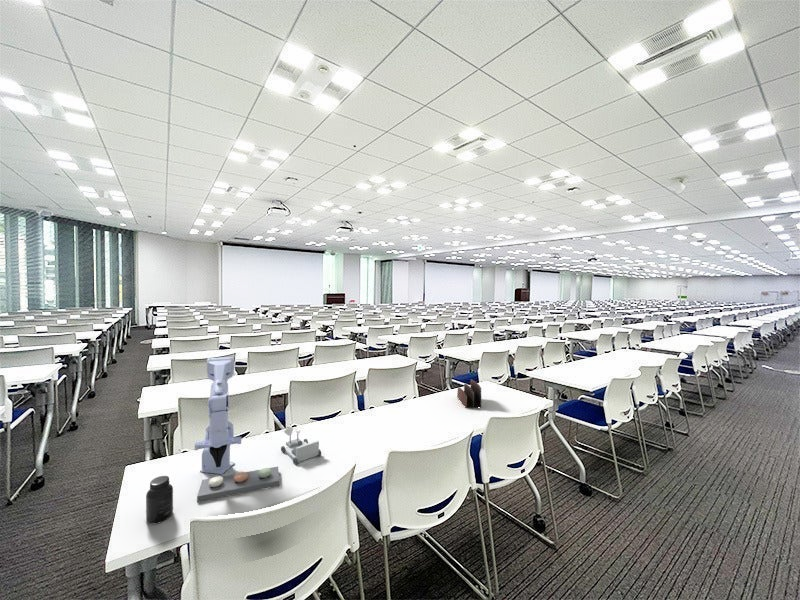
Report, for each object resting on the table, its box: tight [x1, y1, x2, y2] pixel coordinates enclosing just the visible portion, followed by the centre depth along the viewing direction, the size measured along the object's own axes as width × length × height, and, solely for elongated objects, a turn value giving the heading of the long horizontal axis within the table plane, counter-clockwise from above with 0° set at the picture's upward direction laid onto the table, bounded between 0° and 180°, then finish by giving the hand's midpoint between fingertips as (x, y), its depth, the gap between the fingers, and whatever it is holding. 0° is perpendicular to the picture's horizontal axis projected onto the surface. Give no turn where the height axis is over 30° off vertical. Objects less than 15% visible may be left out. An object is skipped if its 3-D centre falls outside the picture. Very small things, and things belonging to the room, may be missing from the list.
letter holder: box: [456, 379, 482, 409], centre depth 212 cm, size 10×20×14 cm, turn 6°
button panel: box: [196, 466, 280, 502], centre depth 120 cm, size 26×10×2 cm, turn 113°
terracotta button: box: [234, 471, 248, 483], centre depth 120 cm, size 4×4×3 cm
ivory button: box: [209, 475, 223, 488], centre depth 117 cm, size 4×4×3 cm
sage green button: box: [258, 467, 271, 479], centre depth 123 cm, size 4×4×3 cm
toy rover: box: [280, 426, 322, 466], centre depth 144 cm, size 18×10×12 cm
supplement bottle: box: [145, 475, 174, 524], centre depth 103 cm, size 7×7×12 cm
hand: (218, 465), depth 117 cm, fingers closed
